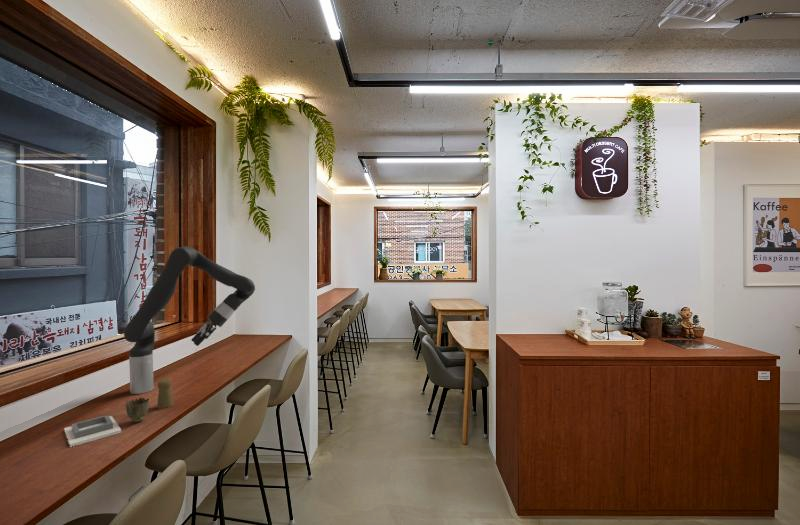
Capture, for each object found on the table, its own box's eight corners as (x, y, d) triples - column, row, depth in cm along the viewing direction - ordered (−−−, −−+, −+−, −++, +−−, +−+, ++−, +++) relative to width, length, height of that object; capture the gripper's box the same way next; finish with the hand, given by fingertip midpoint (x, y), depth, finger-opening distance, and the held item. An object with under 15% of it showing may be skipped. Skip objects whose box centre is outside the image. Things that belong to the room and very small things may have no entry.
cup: (154, 418, 147) (153, 398, 147) (135, 426, 140) (134, 405, 140) (140, 416, 149) (139, 396, 149) (121, 424, 143) (120, 403, 142)
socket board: (64, 430, 138) (64, 422, 138) (111, 418, 148) (111, 410, 148) (70, 447, 125) (69, 438, 125) (121, 432, 136) (121, 424, 136)
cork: (165, 409, 156) (164, 383, 156) (153, 408, 157) (152, 382, 157) (177, 403, 162) (176, 378, 162) (165, 402, 163) (164, 377, 163)
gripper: (211, 307, 177) (185, 335, 170) (217, 310, 165) (189, 340, 159) (224, 317, 180) (198, 345, 174) (231, 321, 168) (203, 351, 162)
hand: (194, 343), depth 166 cm, fingers open, 8 cm apart
